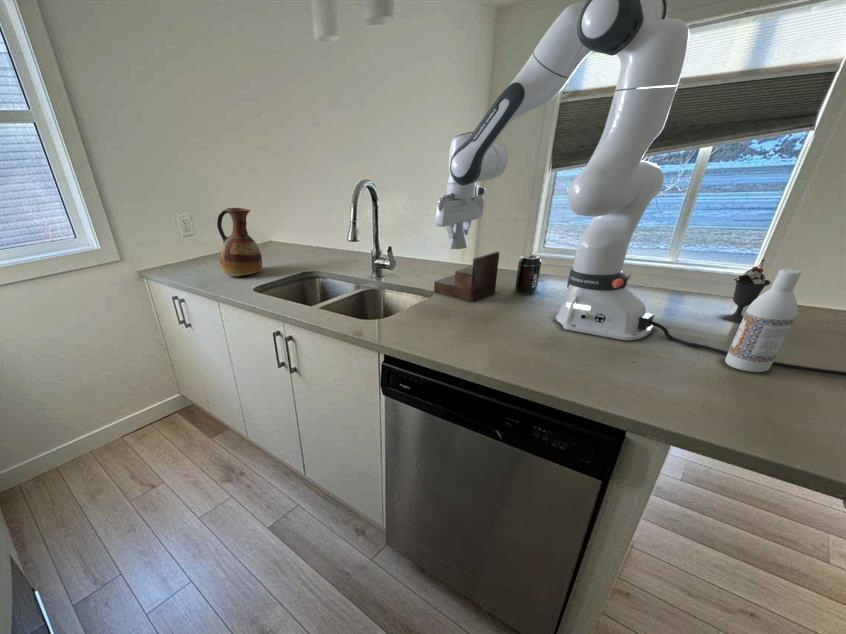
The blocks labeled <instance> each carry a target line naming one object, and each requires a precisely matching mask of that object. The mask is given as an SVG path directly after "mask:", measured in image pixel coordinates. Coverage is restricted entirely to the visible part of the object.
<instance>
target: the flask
mask: <svg viewBox="0 0 846 634" xmlns="http://www.w3.org/2000/svg"><path fill="white" fill-rule="evenodd" d="M463 227H464V222H462V223H458V224H454V228H453V231H454V233H456V235H455V238H453V239H449V241H448V243H447V246H446V248H447V249H450V250H463V249H468V247H469V243H468V240H467V235H465V232H464V228H463Z"/></svg>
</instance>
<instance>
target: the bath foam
mask: <svg viewBox="0 0 846 634" xmlns="http://www.w3.org/2000/svg"><path fill="white" fill-rule="evenodd" d="M801 275H802V271H801V270H798V269H790V268H784V269H783V268H782V269H779V270H778V274H777V275H776V277H775V279H774V281H773V283H772V286H771V288H770V289H768V290H767V291H765V292H764V293H762V294H760V295H759V296H758V297H757V298H756V299H755V300H754V301H753V302H752V303H751V304H750V305H748V306H747V309H746V310H745V313H744V315H743V319H742V322H740V325H739V326H738V329H737V331H736V334H735V335H734V338H733V340H732V342H731V345H730V347H729V349H728V354H727V355H725V358H724V362H725V363H726V365H728V366H729V367H731V368H733V369H736V370H739V371H743V372H747V373H749V372H750V373H764V372H767V371H769V370H770V368H771V367H772V366H773V365H772V363H773V362H775V359H776V358H777V355H778V354H779V352H780V349H781V348H782V346H783V344H784V341H785V340H786V337H787V336H788V333H789V332H790V330H791V328H792V326H793V324H794V322H795V320H796V318H797V315H798V311H799V306H798V301H797V298H796V296H795V293H794V289H795V287H796V285H797V283H798V281H799V280H800V276H801Z"/></svg>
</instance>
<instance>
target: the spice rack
mask: <svg viewBox="0 0 846 634" xmlns="http://www.w3.org/2000/svg"><path fill="white" fill-rule="evenodd" d="M499 260H500V251H494V252H490V253H487V254H484V255H481V256H478V257H475V258H473V259H472V265H470V266H467V267H464V268H461V269H458V270H455V272H454V274H452V275H450V276H447V277H444V278H440V279H437V280H435V281H434V282H433V293H436V294H439V295H443V296H448V297H450V298H451V297H452V298H456V299H460V300H463V301H468V302H471V303H473V302H476V301H478V300H481V299H484V298H486V297H488V296H491V295H494V294H496V288H497V287H496V286H497V278H498V269H499V262H500V261H499Z"/></svg>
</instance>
